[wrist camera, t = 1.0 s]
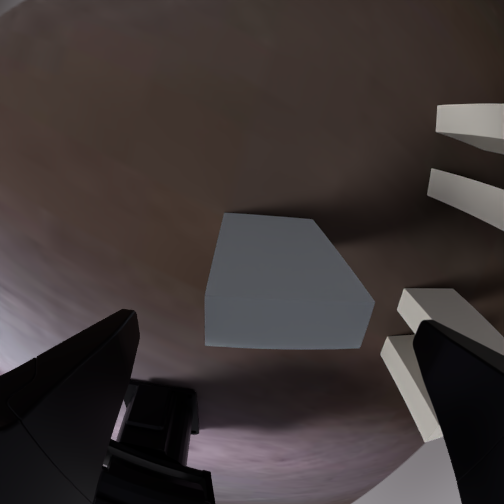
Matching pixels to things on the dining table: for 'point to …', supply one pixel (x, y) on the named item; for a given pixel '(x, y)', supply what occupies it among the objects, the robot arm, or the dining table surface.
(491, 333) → the domino
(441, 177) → the domino
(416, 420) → the domino
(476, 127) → the domino
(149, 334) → the dining table surface
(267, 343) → the domino
